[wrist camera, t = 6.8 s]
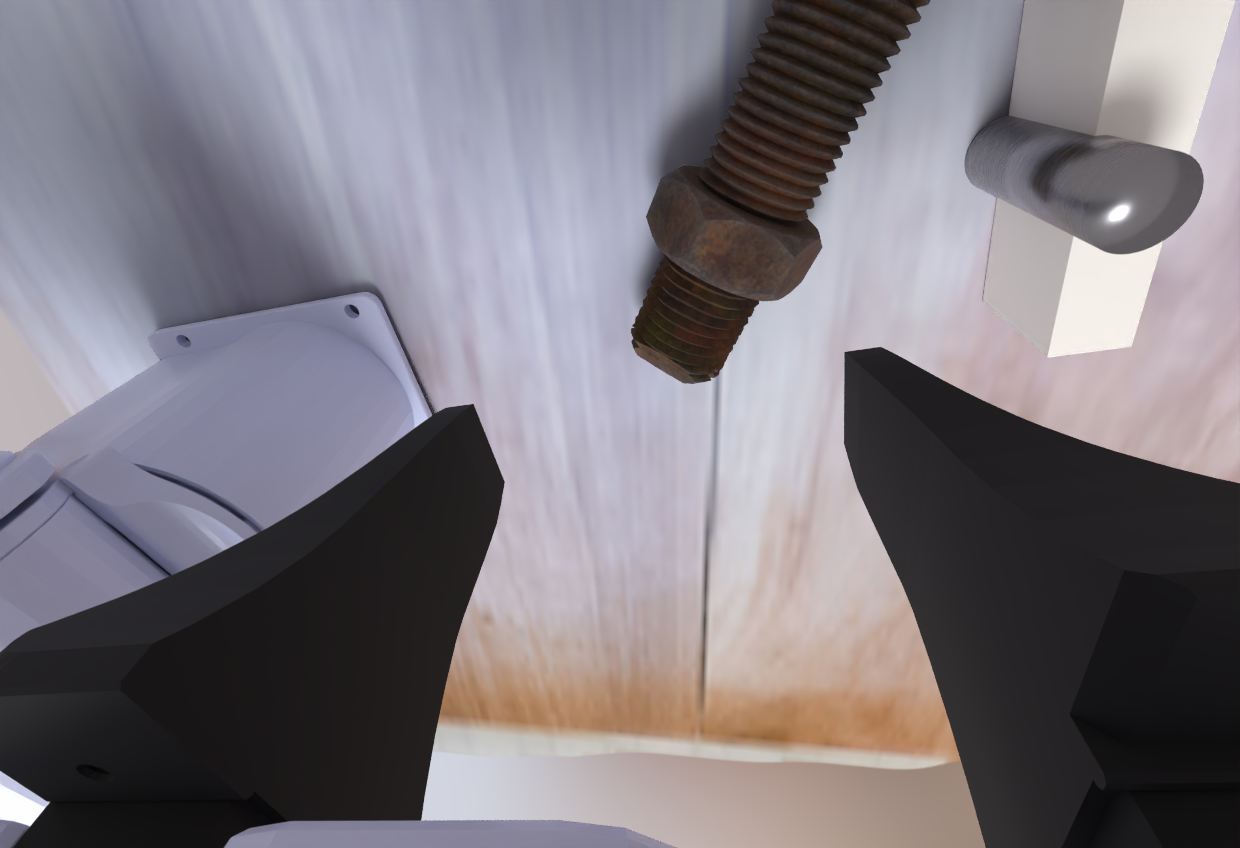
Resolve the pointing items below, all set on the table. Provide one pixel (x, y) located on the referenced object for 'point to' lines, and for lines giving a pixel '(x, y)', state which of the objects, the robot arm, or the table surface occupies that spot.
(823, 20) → the bolt
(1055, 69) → the bar
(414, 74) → the table surface
